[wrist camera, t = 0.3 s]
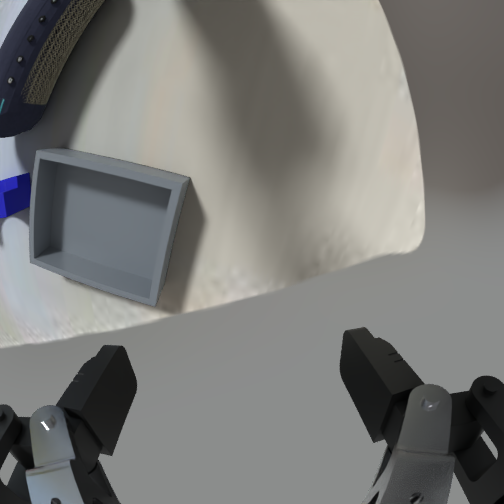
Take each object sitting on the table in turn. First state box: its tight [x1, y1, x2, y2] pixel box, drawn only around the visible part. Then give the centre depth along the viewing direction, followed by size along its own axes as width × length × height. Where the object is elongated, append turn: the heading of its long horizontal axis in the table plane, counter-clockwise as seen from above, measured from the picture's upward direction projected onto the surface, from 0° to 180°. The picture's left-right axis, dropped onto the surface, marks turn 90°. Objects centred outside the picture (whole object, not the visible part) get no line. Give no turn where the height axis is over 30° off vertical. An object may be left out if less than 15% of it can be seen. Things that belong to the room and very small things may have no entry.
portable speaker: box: [0, 0, 105, 138], centre depth 15 cm, size 25×10×10 cm, turn 152°
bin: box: [29, 148, 190, 307], centre depth 26 cm, size 14×18×5 cm
